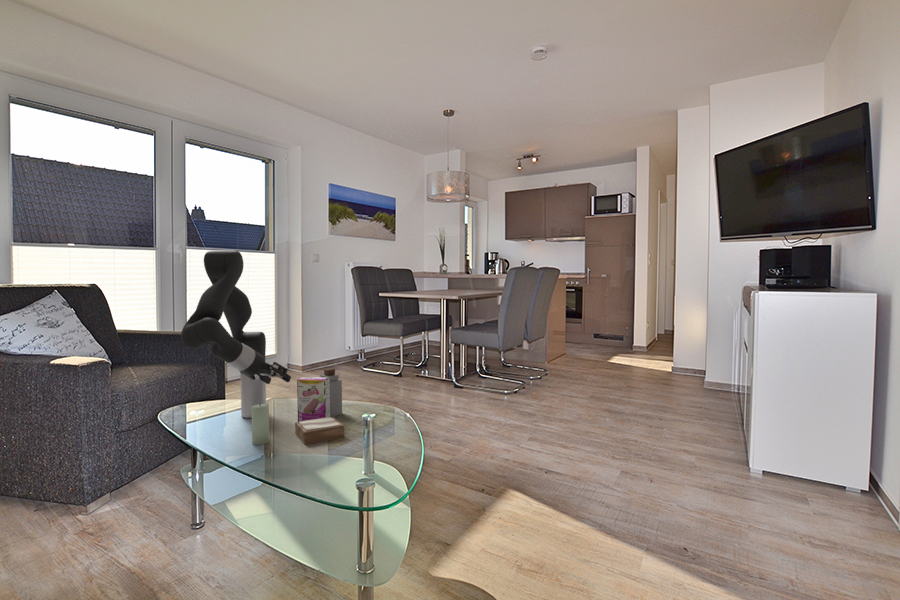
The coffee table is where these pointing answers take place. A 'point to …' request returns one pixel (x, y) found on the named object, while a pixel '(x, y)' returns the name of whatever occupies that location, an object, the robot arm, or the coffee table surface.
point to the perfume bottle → (334, 391)
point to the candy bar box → (313, 398)
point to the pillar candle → (260, 424)
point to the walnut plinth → (319, 430)
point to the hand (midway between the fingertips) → (279, 380)
